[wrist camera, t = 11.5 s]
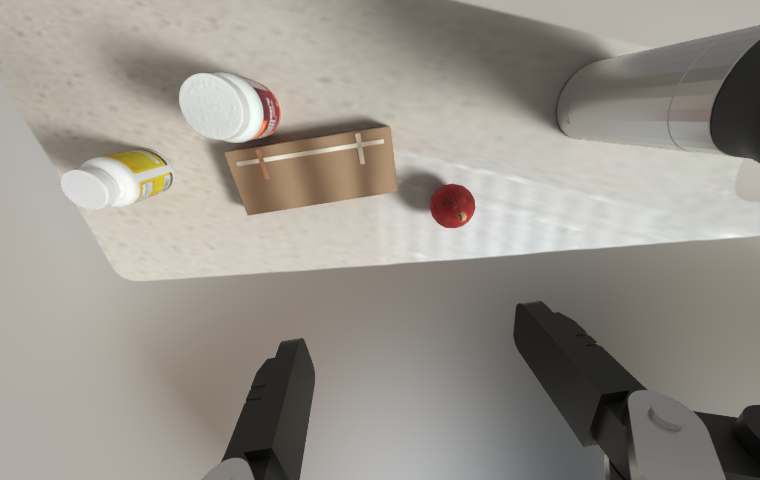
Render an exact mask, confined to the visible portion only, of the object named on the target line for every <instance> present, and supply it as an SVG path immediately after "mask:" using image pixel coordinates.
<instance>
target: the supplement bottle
mask: <svg viewBox="0 0 760 480" xmlns="http://www.w3.org/2000/svg"><path fill="white" fill-rule="evenodd" d="M174 179H175V175H174V170H173V168H172V166H171V164H170V163H169V162H168V161H167V159H165V158H164V157H163V156H162V155H160V154H159V153H157V152H154V151H151V150H144V149H143V150H135V151H129V152H123V153H117V154H111V155H106V156H101V157H95V158H92V159H89V160H87V161H85V162H84V163H83V164H82V165H81V166H80V168H77V169H73V170H69V171H67V172H65V173H64V174H63V175H62V177H61V187H62V190H63V192H64V193H65V195H66V196H67V197H68V198H69V199H70V200H71V201H72V202H74V203H75V204H77V205H79V206H81V207H83V208H87V209H100V208H103V207H106V206H110V207H124V206H128V205H131V204H133V203H135V202H138V201H140V200H143V199H145V198H148V197H150V196H153V195H155V194H158V193H160V192H163V191H165V190H167V189H168V188H170V187H171V186H172V184H173V182H174Z"/></svg>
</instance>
